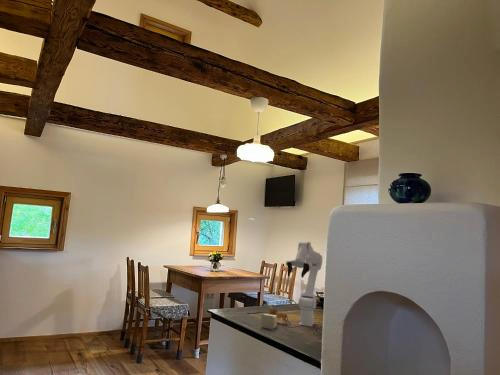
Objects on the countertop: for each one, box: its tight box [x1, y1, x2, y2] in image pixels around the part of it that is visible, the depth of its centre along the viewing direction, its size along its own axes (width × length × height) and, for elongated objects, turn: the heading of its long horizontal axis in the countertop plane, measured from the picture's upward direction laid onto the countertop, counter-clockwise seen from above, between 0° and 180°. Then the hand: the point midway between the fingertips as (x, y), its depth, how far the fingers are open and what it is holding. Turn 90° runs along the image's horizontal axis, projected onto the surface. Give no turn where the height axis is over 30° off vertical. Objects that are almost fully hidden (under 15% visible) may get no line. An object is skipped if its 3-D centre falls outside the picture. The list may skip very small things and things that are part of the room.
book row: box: [260, 313, 278, 330], centre depth 216 cm, size 7×7×7 cm
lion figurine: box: [267, 306, 292, 326], centre depth 226 cm, size 15×5×9 cm, turn 73°
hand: (295, 275), depth 204 cm, fingers open, 7 cm apart
